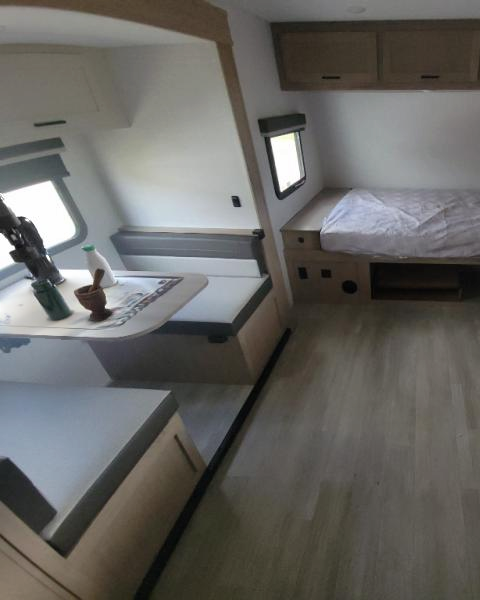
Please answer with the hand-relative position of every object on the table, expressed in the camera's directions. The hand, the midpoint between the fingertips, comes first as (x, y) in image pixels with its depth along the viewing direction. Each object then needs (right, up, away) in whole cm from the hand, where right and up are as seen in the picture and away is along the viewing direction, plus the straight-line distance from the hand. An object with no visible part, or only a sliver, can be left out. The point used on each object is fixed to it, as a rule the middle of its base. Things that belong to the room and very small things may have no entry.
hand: (25, 256), depth 125 cm
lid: (0, -1, 0) cm, 1 cm away
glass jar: (-1, -23, +14) cm, 27 cm away
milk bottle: (-2, -9, +37) cm, 38 cm away
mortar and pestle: (+17, -23, +16) cm, 32 cm away
